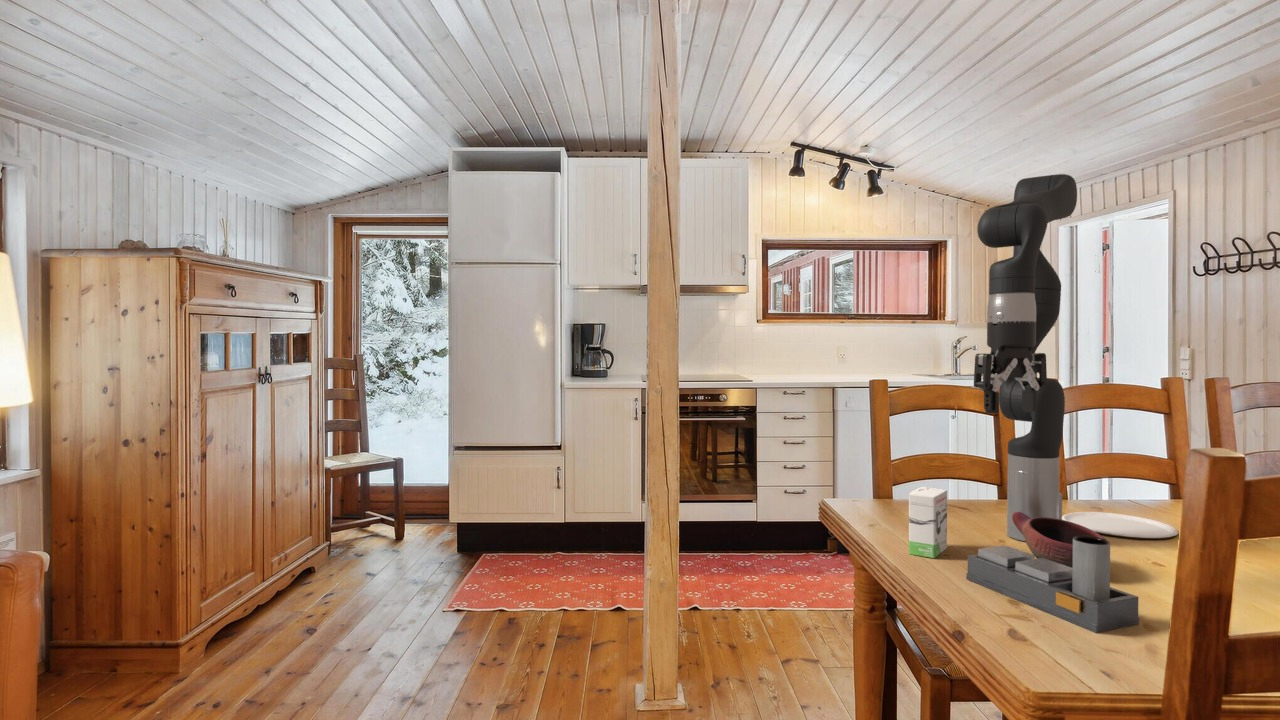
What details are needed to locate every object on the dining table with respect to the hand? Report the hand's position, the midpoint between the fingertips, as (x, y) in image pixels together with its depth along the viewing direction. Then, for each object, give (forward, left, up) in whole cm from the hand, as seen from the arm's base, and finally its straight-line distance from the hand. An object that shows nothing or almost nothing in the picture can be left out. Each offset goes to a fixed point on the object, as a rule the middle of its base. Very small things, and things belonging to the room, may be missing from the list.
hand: (1010, 412), depth 117 cm
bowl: (-10, +1, -28) cm, 30 cm away
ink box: (+5, -14, -28) cm, 32 cm away
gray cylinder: (+6, +19, -27) cm, 34 cm away
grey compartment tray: (+6, +12, -28) cm, 31 cm away
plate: (-47, -14, -29) cm, 57 cm away
